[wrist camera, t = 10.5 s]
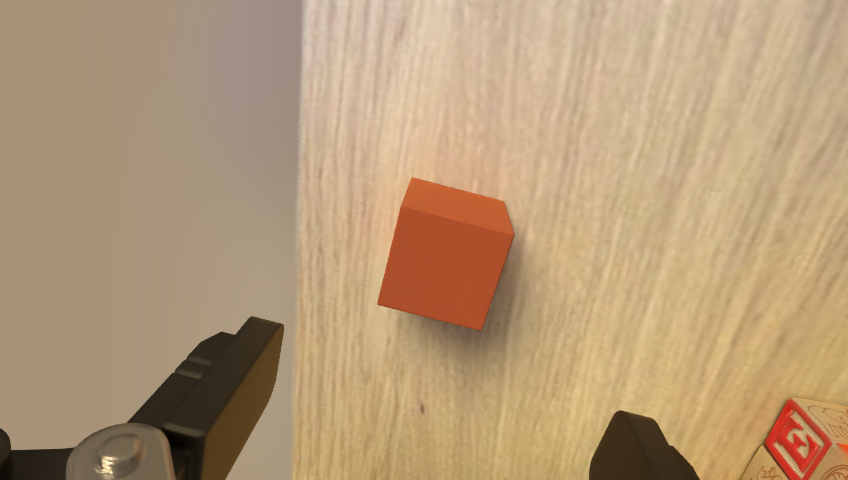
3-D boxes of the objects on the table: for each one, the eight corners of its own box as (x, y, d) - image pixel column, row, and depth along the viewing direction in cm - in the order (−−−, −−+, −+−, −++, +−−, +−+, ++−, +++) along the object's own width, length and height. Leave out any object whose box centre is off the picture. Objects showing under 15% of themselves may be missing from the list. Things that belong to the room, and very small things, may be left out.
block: (390, 261, 22) (376, 305, 19) (411, 177, 21) (401, 204, 17) (477, 284, 23) (481, 331, 19) (504, 201, 21) (515, 234, 17)
